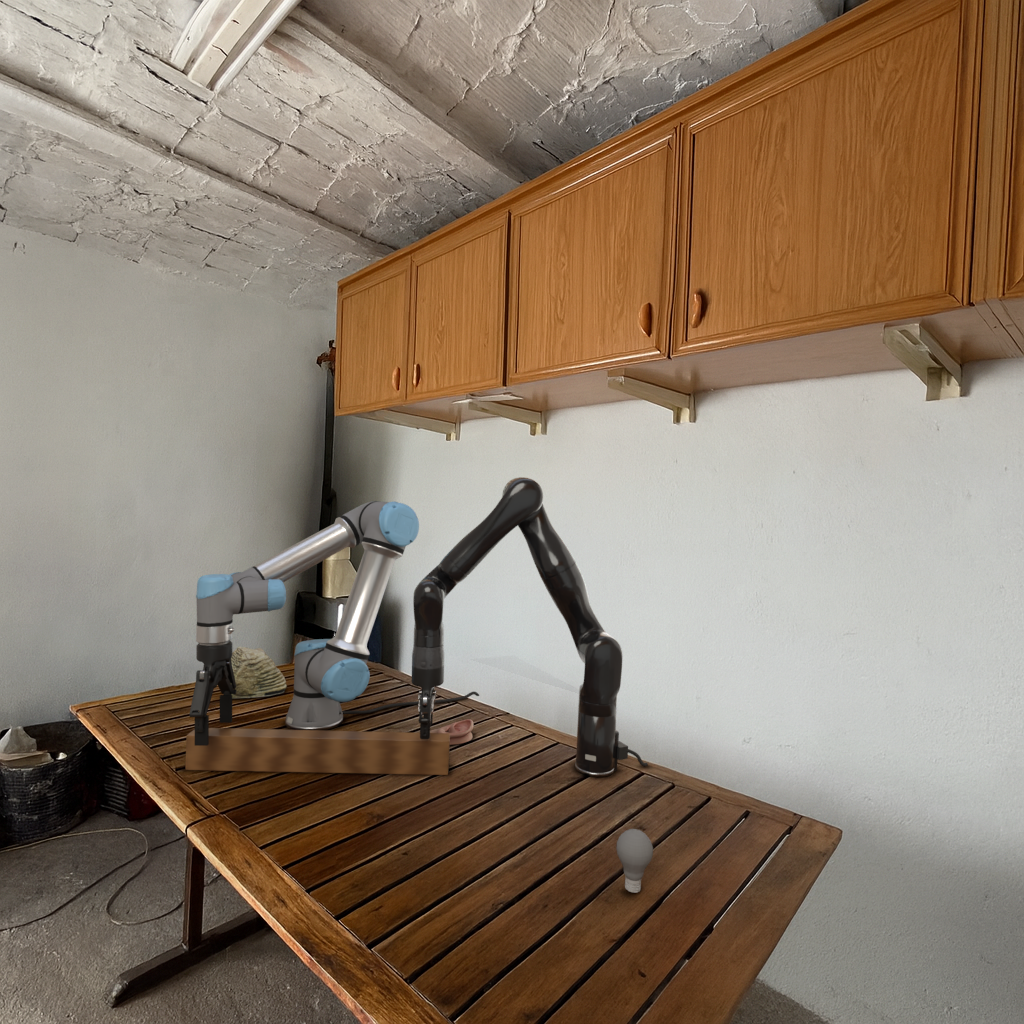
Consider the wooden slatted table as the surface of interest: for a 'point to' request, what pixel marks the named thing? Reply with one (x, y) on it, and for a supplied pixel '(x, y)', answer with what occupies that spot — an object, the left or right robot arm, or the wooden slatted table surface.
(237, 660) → the fossil
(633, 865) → the light bulb
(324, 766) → the beam
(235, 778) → the wooden slatted table surface
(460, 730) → the anatomical model
